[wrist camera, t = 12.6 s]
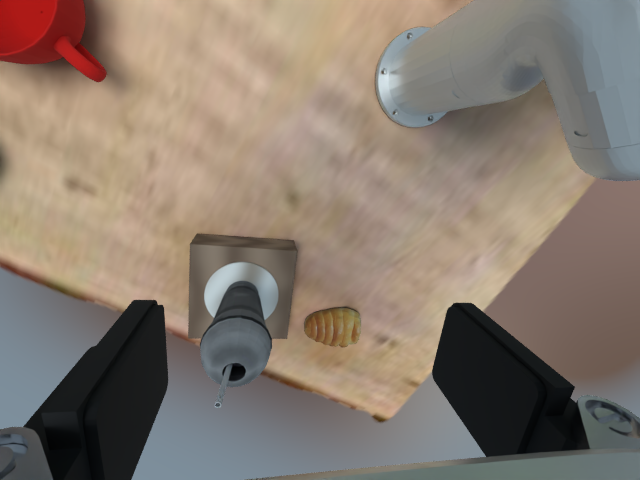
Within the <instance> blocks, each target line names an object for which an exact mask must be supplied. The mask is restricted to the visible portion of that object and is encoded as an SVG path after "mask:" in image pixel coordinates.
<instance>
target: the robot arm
mask: <svg viewBox="0 0 640 480" xmlns="http://www.w3.org/2000/svg"><path fill="white" fill-rule="evenodd" d="M407 37H408V39H407ZM381 71H382V72H383V75H382V74H381ZM543 79H544V80H545V83H546V85H547V88H548V91H549V93H550V94H551V96H552V99H553V102H554V105H555V108H556V111H557V114H558V117H559V120H560V123H561V126H562V129H563V132H564V135H565V139H566V142H567V145H568V148H569V150H570V153H571V155H572V157H573V159H574V161H575V162H576V164H577V165H578V166H579V168H580V169H582V170H583V171H584V172H585V173H587V174H589V175H591V176H593V177H596V178H600V179H605V180H613V181H631V180H632V181H633V180H640V0H473V1H472V2H470V3H469V4H467V5H466V6H464V7H463V8H461V9H460V10H458V11H457V12H455V13H454V14H452V15H451V16H449V17H448V18H446V19H445V20H443V21H442V22H440V23H439V24H437V25H436V26H434V27H433V28H428V27H417V28H412V29H409V30H407V31H405V32H403V33H401V34H400V35H398V36H397V37H396V38H395V39H393V40H392V41H391V42H390V44H389V45H388V46H387V47H386V48H385V50H384V52H383V53H382V55H381V57H380V60H379V63H378V65H377V70H376V79H375V86H376V93H377V97H378V100H379V103H380V105H381V107H382V109H383V110H384V112H385V113H386V114H387V115H388V117H390V118H391V119H392V120H393V121H394V122H396V123H398V124H400V125H402V126H406V127H415V128H416V127H424V126H427V125H431V124H433V123H435V122H436V121H438V120H439V119H441V118H442V117H443V116H444V115H445V114H446V113H447V112H448V111H451V110H457V109H463V108H469V107H475V106H482V105H487V104H492V103H498V102H503V101H507V100H511V99H514V98H516V97H518V96H521V95H523V94H524V93H526V92H528V91H529V90H530V89H532V88H533V87H535V86H536V85H537V84H538V83H540V82H541V81H542V80H543ZM393 111H394V112H395V114H394V115H393ZM428 118H429V120H428ZM165 335H166V334H165V317H164V307H163V305H158V304H157V301H156V300H134V301H133V302H132V303H131V304H130V305H129V306H128V308H127V309H126V310H125V311H124V312H123V314H122V315H121V316H120V317H119V319H118V320H117V321H116V322H115V323H114V325H113V326H112V327H111V328H110V330H109V331H108V332H107V333H106V335H105V336H104V337H103V338H102V339H101V341H100V342H99V343H98V344H97V345H96V346H94V347H91V348H90V349H89V350H88V351H87V352H86V353H85V354H84V355H83V356H82V358H81V359H80V360H79V361H78V362H77V364H76V365H75V366H74V367H73V368H72V370H71V371H70V372H69V373H68V374H67V375H66V377H65V378H64V379H63V380H62V381H61V382H60V384H59V385H58V386H57V387H56V389H55V390H54V391H53V392H52V393H51V394H50V396H49V397H48V398H47V399H46V400H45V402H44V403H43V404H42V405H41V406H40V408H39V409H38V410H37V411H36V412H35V414H34V415H33V416H32V417H31V418H30V420H29V421H28V422H27V423H26V424H25V425H24V426H23V427H9V428H4V429H0V480H131V479H132V476H133V474H134V471H135V469H136V466H137V464H138V461H139V459H140V456H141V453H142V451H143V449H144V446H145V443H146V441H147V438H148V436H149V433H150V431H151V428H152V425H153V423H154V421H155V418H156V415H157V413H158V411H159V408H160V406H161V403H162V400H163V398H164V395H165V393H166V390H167V385H168V369H167V352H166V336H165ZM432 375H433V379H434V381H435V382H436V384H437V385H438V387H439V388H440V390H441V391H442V393H443V394H444V396H445V397H446V398H447V400H448V401H449V403H450V404H451V406H452V407H453V409H454V410H455V412H456V413H457V415H458V416H459V417H460V419H461V420H462V422H463V423H464V425H465V426H466V427H467V429H468V430H469V432H470V434H471V435H472V436H473V438H474V439H475V441H476V442H477V444H478V445H479V447H480V448H481V450H482V451H483V453H484V454H485V455H486V457H480V458H469V459H458V460H446V461H436V462H424V463H413V464H402V465H391V466H380V467H370V468H360V469H348V470H337V471H328V472H318V473H307V474H296V475H286V476H277V477H266V478H256V479H246V480H640V418H639V417H637V416H636V415H634V414H633V413H632V412H630V411H629V410H627V409H625V408H623V407H622V406H620V405H618V404H616V403H614V402H611V401H609V400H607V399H603V398H600V397H597V396H590V395H586V396H581V397H580V398H579V399H578V400H577V403H575V402H574V401H573V400H572V399H571V398H570V397H571V395H572V392H573V390H574V388H575V387H574V386H573V385H572V384H571V383H570V382H568V381H567V380H566V379H565V378H563V377H562V376H561V375H560V374H558V373H557V372H556V371H555V370H554V369H552V368H551V367H550V366H549V365H547V364H546V363H545V362H544V361H542V360H541V359H540V358H539V357H538V356H536V355H535V354H534V353H533V352H531V351H530V350H529V349H528V348H527V347H525V346H524V345H523V344H522V343H520V342H519V341H518V340H517V339H515V338H514V337H513V336H511V334H509V333H508V332H507V331H506V330H504V329H503V328H502V327H501V326H499V325H498V324H497V323H496V322H495V321H493V320H492V319H491V318H490V317H488V316H487V315H486V314H485V313H484V312H482V311H481V310H480V309H479V308H477V307H476V306H475V305H474V304H472V303H454V304H453V305H452V306H451V307H449V308H448V310H447V313H446V317H445V321H444V325H443V329H442V333H441V337H440V341H439V345H438V349H437V353H436V357H435V361H434V365H433V370H432Z"/></svg>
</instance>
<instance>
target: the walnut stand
mask: <svg viewBox="0 0 640 480" xmlns="http://www.w3.org/2000/svg"><path fill="white" fill-rule="evenodd" d="M296 258H297V249H296V246H295V243H294V241H293V240H279V239H265V238H251V237H237V236H223V235H209V234H197V235H196V236H195V238H194V239H193V240H192V242H191V243H190V272H189V329H188V338H202V336H203V334H204V333H205V331H206V330H207V328H208V327H209V326H210V324H211V323H212V322H213V319H214V317H215V315H216V312H217V310H218V308H219V305H220V303H221V300H222V298H223V296H224V294H225V292H226V290H227V289H228V287H229V286H230V285H231V284H233V283H234V282H237V281H248V282H250V283H252V284H254V285H255V287H256V288H257V290H258V294H259V296H260V300H261V305H262V310H263V315H264V320H265V324H266V327H267V329H268V331H269V333H270V335H271V338H272V339H287V335H288V327H289V318H290V309H291V301H292V292H293V284H294V275H295V266H296Z"/></svg>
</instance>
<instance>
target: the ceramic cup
mask: <svg viewBox="0 0 640 480" xmlns="http://www.w3.org/2000/svg"><path fill="white" fill-rule="evenodd" d="M85 20H86V18H85V6H84V2H83V0H0V61H5V62H12V63H19V64H42V63H48V62H51V61H55V60H58V59H60V58H62V57H64V58H65V59H66V60H67V61H68V62H69V63H70V64H71V65H72V66H74V67H75V68H76V69H77V70H79V71H80V72H81V73H82V74H84V75H85V76H87V77H88V78H90V79H92V80H94V81H96V82H101V81H103V80H104V78H105V77H106V75H107V73H106V70H105V69H104V67H103V66H102V65H101V64H100V63H99V62H98V61H97V60H96V59H95V58H94V57H93V56H92V55H91V54H90V53H89V52H88V51H87V50H86V49H85V48H84V47H83V46H82V45H81V44H80V43H79V42H80V40H81V38H82V35H83V32H84V29H85Z"/></svg>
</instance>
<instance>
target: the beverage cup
mask: <svg viewBox="0 0 640 480" xmlns="http://www.w3.org/2000/svg"><path fill="white" fill-rule="evenodd" d="M200 349H201V350H200V351H201V362H202V365H203V367H204V369H205V371H206V373H207V375H208V376H209V377H210V378H211V379H212V380H213V381H215V382H216V383H218V384H220V385H221V386H220V389H219V393H218V396H217V399H216V402H215V407H217V408H219V407H221V404H222V401H223V397H224V393H225V390H226V387H238V386H242V385H245V384H247V383H250V382H251V381H252V380H254V379H255V378H257V377H258V376H259V375H260V373H261V372H262V371H263V370H264V368H265V367H266V364H267V362H268V359H269V356H270V351H271V349H272V338H271V335H270V333H269V331H268V329H267V327H266V324H265V320H264V315H263V310H262V305H261V300H260V296H259V294H258V290H257V288H256V287H255V285H254V284H252V283H250V282H248V281H237V282H234V283H233V284H231V285H230V286H229V287H228V289H227V290H226V292H225V294H224V296H223V298H222V300H221V303H220V305H219V308H218V310H217V312H216V315H215V317H214V319H213V322H212V323H211V324H210V326H209V327H208V328H207V330H206V331H205V333H204V334H203V336H202V339H201V343H200Z"/></svg>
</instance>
